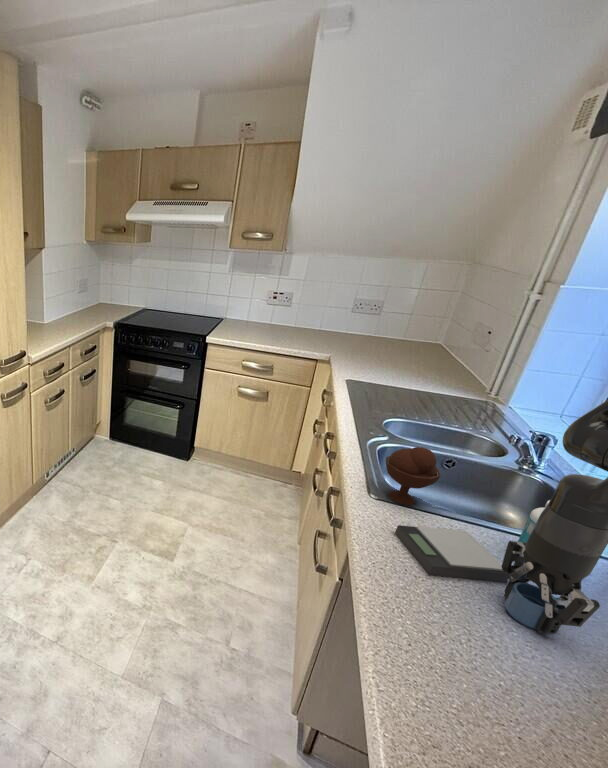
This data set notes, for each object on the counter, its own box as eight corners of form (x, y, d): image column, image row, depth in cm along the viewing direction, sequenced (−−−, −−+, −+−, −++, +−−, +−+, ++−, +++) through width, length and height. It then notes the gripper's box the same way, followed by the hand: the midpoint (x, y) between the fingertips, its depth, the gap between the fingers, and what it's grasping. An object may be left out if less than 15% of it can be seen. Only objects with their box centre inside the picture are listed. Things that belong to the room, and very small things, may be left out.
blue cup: (529, 605, 75) (540, 583, 73) (559, 634, 69) (572, 612, 68) (494, 601, 75) (504, 580, 73) (521, 630, 70) (533, 608, 68)
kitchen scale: (462, 539, 91) (466, 529, 90) (507, 582, 79) (512, 571, 78) (394, 533, 92) (398, 523, 91) (429, 575, 81) (433, 564, 80)
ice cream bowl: (424, 493, 106) (442, 442, 101) (430, 518, 97) (451, 463, 92) (375, 481, 111) (391, 431, 106) (377, 503, 102) (394, 450, 97)
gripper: (644, 575, 59) (591, 657, 65) (552, 511, 72) (515, 584, 78) (586, 569, 60) (539, 651, 66) (505, 507, 73) (472, 580, 79)
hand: (526, 614), depth 72 cm, fingers closed on blue cup, 6 cm apart
